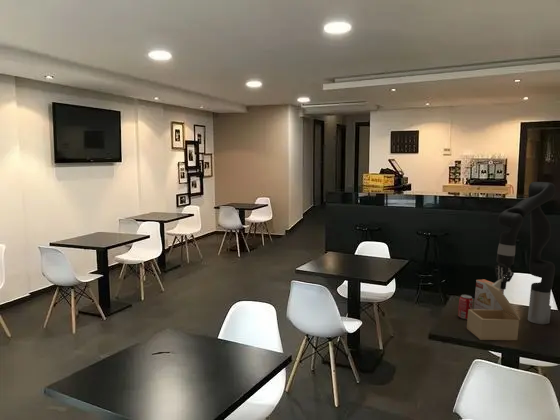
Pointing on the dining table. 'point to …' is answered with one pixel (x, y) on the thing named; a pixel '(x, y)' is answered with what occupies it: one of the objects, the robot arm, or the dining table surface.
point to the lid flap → (501, 298)
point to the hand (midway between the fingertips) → (501, 288)
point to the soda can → (465, 306)
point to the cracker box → (485, 297)
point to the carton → (492, 324)
